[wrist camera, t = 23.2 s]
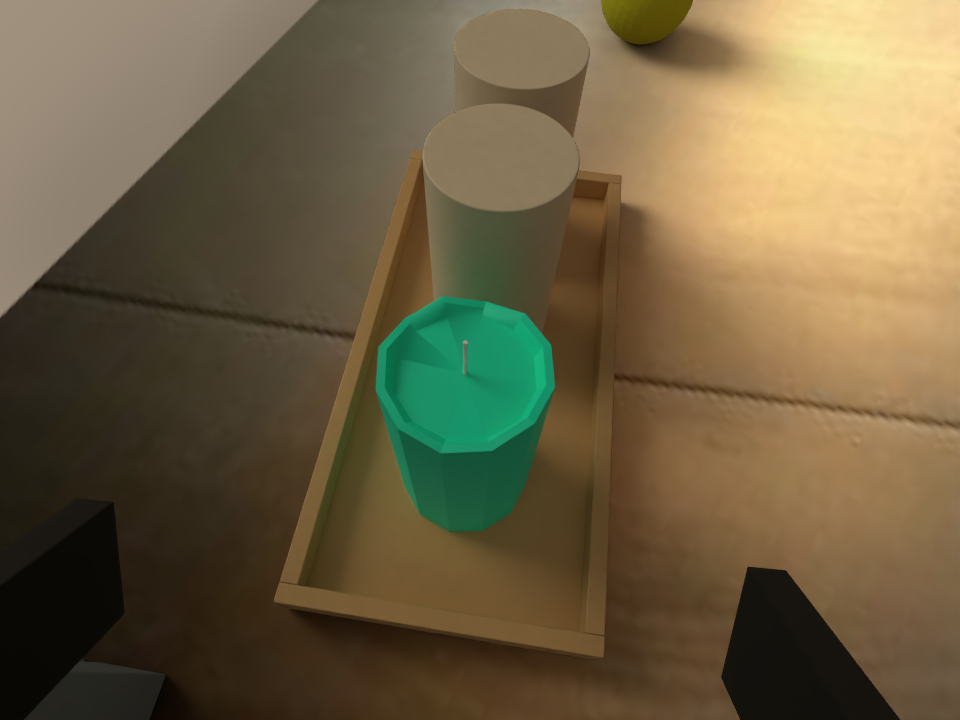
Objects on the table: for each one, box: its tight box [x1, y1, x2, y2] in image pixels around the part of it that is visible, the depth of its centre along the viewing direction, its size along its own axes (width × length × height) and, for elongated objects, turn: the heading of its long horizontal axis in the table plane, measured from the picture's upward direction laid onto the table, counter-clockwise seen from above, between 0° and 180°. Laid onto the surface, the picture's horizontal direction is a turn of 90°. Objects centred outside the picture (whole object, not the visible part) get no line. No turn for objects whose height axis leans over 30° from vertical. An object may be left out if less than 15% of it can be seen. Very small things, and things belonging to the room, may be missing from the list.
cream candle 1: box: [454, 9, 590, 138], centre depth 30 cm, size 6×6×12 cm
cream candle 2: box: [422, 104, 580, 334], centre depth 27 cm, size 6×6×12 cm
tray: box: [274, 150, 621, 660], centre depth 31 cm, size 28×14×2 cm, turn 171°
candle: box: [376, 296, 555, 531], centre depth 22 cm, size 6×6×12 cm
